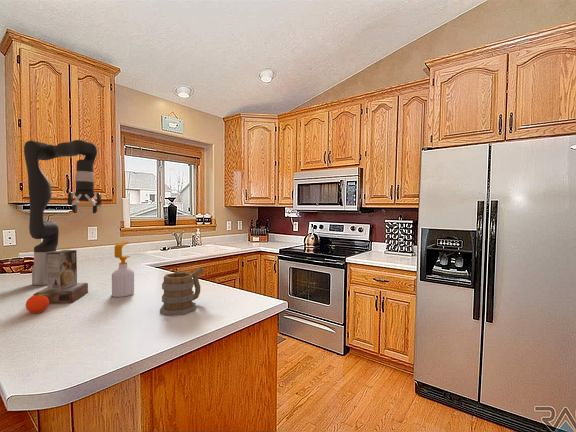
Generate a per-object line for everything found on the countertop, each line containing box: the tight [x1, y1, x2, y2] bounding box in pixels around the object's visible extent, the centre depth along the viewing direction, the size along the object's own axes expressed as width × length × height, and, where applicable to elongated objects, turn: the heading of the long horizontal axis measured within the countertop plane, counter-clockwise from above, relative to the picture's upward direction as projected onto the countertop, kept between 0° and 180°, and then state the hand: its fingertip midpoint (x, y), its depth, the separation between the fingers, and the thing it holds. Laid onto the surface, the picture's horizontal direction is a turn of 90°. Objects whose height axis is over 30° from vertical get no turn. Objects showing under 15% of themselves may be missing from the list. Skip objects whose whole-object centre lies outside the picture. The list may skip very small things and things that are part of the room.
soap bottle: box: [111, 241, 135, 298], centre depth 137 cm, size 9×9×25 cm
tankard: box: [159, 267, 205, 317], centre depth 119 cm, size 20×13×15 cm, turn 148°
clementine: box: [25, 294, 50, 314], centre depth 113 cm, size 8×7×7 cm
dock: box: [32, 282, 89, 305], centre depth 130 cm, size 14×17×5 cm
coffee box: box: [46, 249, 78, 290], centre depth 130 cm, size 9×6×16 cm
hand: (84, 213), depth 148 cm, fingers open, 8 cm apart
